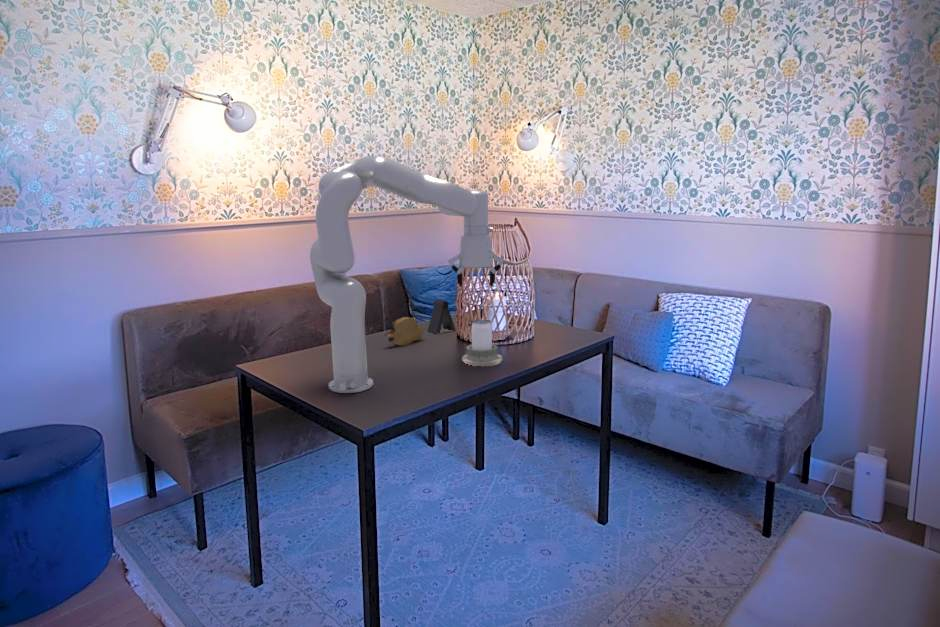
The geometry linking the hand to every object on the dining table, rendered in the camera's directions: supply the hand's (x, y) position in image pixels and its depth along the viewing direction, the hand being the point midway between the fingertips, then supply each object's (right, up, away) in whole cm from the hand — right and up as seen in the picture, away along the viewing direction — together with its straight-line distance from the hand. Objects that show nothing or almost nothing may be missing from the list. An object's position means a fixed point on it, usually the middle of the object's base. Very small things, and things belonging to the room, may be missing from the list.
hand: (476, 285), depth 200 cm
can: (+2, -23, +5) cm, 24 cm away
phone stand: (-13, -16, +44) cm, 49 cm away
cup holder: (+2, -24, +5) cm, 24 cm away
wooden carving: (-25, -20, +26) cm, 42 cm away
